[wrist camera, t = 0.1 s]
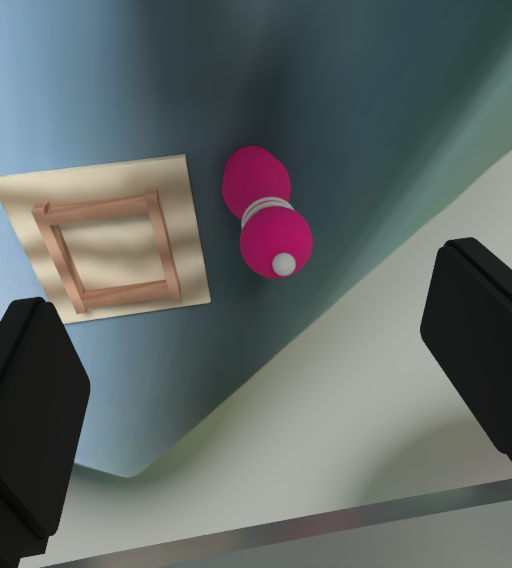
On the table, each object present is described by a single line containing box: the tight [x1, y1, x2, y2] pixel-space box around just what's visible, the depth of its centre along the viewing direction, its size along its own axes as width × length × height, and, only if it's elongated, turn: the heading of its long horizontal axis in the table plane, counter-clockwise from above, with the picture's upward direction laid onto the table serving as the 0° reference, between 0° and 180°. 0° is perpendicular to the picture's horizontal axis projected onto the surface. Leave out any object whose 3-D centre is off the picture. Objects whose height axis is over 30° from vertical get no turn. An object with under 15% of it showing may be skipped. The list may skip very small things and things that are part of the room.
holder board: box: [0, 154, 211, 324], centre depth 48 cm, size 20×20×3 cm
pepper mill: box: [222, 146, 313, 278], centre depth 38 cm, size 7×7×20 cm
